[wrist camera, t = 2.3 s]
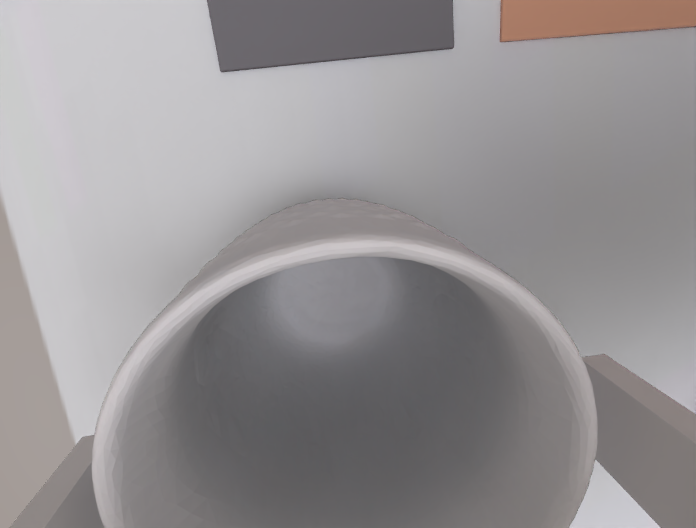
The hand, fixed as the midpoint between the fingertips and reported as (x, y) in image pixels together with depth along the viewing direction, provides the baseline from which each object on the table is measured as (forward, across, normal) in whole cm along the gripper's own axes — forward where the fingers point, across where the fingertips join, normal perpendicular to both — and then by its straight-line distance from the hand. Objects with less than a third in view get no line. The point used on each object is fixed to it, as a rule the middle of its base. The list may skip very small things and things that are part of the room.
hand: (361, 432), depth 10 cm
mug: (+11, -1, 0) cm, 11 cm away
